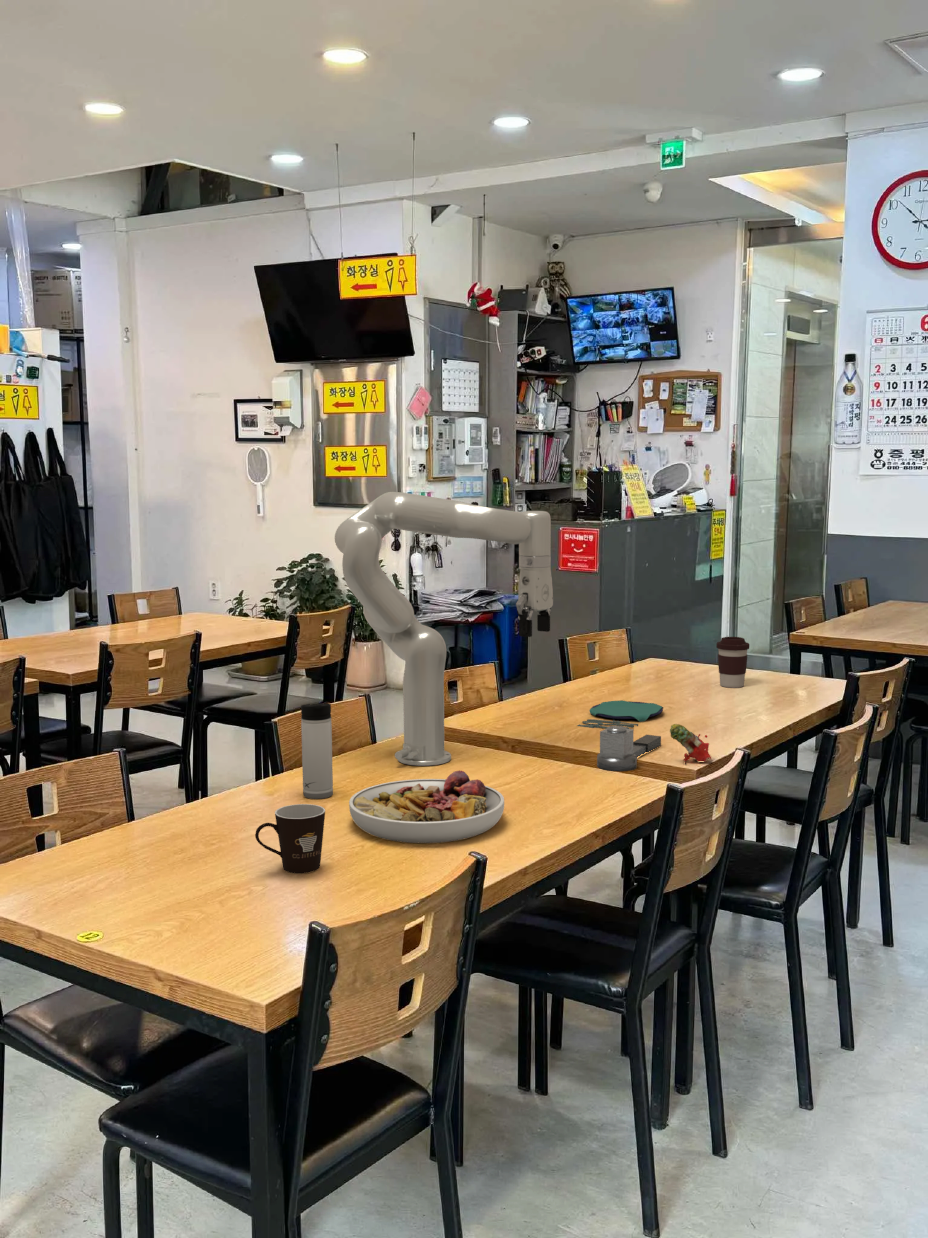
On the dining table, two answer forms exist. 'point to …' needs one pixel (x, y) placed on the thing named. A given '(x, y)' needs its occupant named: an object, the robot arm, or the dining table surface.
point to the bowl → (427, 809)
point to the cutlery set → (622, 713)
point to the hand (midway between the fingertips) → (534, 633)
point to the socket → (616, 742)
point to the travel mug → (317, 751)
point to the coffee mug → (298, 836)
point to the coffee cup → (732, 661)
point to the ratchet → (630, 763)
